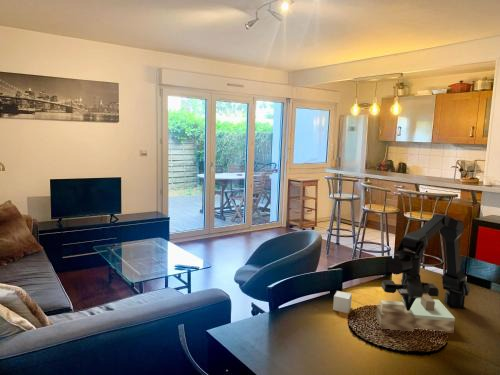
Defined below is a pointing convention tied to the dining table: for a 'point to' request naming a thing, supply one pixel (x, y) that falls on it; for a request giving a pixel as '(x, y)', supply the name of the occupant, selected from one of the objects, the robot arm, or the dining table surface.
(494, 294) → the dining table surface
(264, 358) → the dining table surface
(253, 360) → the dining table surface
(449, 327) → the beige rectangular tray
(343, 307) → the white cube block
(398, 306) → the beige rectangular block
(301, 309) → the dining table surface
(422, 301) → the lid
